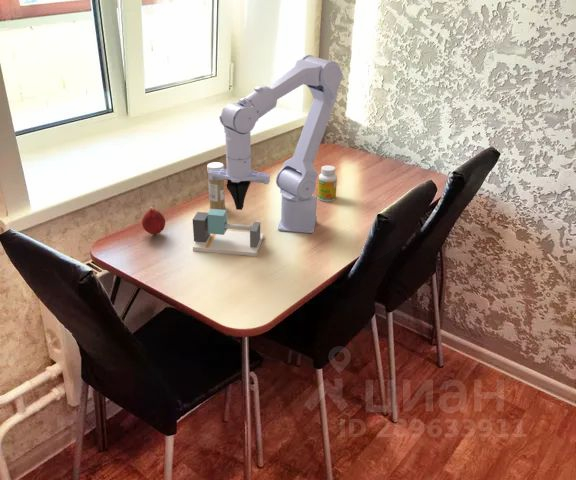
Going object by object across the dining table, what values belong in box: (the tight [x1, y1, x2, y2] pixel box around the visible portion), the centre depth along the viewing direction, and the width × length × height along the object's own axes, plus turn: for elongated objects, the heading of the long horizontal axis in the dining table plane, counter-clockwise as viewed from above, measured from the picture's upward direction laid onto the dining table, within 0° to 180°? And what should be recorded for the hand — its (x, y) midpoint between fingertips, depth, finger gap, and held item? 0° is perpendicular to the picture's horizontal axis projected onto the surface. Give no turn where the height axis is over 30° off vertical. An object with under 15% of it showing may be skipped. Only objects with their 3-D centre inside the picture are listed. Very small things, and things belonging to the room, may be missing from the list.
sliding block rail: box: [192, 211, 265, 257], centre depth 145 cm, size 16×10×7 cm, turn 81°
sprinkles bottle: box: [206, 161, 226, 211], centre depth 161 cm, size 5×5×14 cm
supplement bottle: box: [317, 164, 338, 203], centre depth 169 cm, size 5×5×10 cm
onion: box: [141, 206, 166, 236], centre depth 148 cm, size 6×6×8 cm
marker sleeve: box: [207, 209, 228, 235], centre depth 144 cm, size 4×3×5 cm
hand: (239, 208), depth 141 cm, fingers closed
